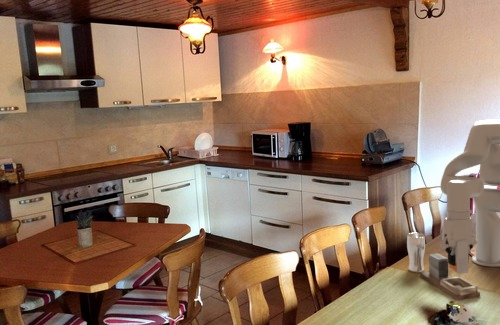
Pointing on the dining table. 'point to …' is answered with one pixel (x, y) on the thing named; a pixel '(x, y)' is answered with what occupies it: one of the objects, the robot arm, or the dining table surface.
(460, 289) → the desk organizer
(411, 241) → the beer glass
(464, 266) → the skincare box
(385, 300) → the dining table surface
